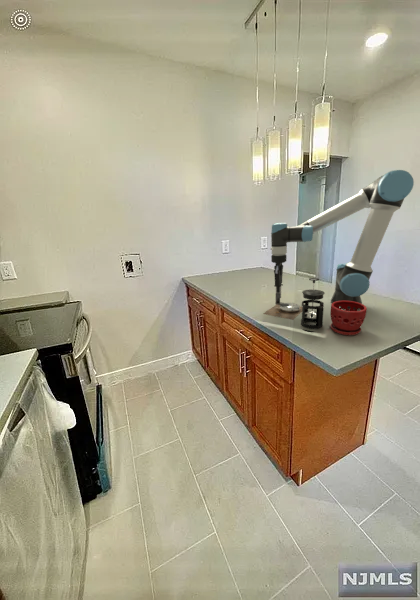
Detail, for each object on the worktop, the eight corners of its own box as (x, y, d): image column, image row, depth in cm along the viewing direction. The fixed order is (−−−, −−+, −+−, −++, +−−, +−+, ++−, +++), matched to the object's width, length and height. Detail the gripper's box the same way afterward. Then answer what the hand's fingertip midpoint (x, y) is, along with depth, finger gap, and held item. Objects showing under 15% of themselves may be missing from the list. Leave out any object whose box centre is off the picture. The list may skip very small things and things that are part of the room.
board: (306, 310, 133) (306, 307, 133) (292, 322, 119) (293, 319, 119) (278, 305, 143) (278, 303, 142) (262, 316, 129) (262, 313, 129)
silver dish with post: (301, 307, 133) (302, 293, 130) (296, 313, 125) (297, 298, 122) (278, 304, 140) (278, 291, 137) (272, 310, 132) (272, 296, 129)
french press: (295, 324, 117) (297, 277, 110) (313, 321, 118) (316, 274, 111) (310, 335, 106) (313, 283, 99) (329, 331, 107) (334, 280, 100)
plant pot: (323, 331, 108) (325, 305, 105) (338, 322, 116) (340, 298, 112) (354, 341, 98) (358, 313, 95) (368, 330, 106) (372, 304, 102)
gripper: (274, 252, 134) (273, 293, 142) (268, 256, 123) (268, 300, 131) (288, 252, 131) (287, 294, 139) (284, 256, 120) (283, 302, 128)
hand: (278, 297), depth 135 cm, fingers closed
